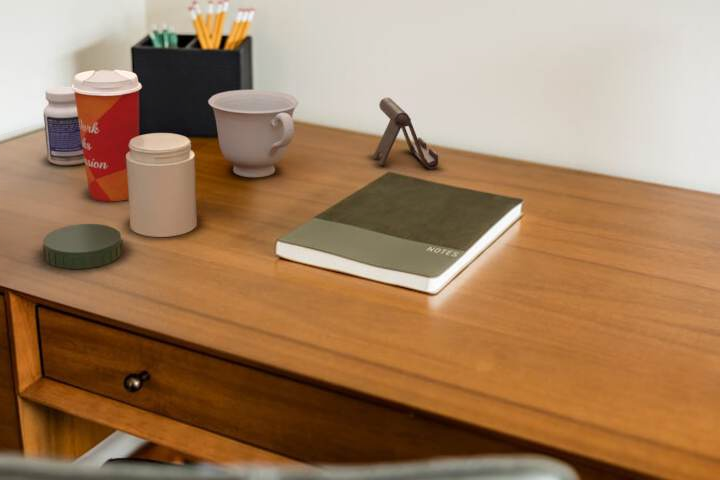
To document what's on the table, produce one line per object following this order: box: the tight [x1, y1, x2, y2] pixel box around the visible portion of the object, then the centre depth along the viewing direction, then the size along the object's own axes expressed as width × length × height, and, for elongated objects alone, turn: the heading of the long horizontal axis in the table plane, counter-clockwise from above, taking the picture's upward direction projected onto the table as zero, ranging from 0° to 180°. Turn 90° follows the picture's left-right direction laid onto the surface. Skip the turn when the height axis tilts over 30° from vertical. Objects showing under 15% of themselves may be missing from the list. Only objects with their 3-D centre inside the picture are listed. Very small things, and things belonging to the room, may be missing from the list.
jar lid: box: [42, 223, 124, 270], centre depth 96 cm, size 8×8×2 cm
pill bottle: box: [43, 86, 85, 166], centre depth 123 cm, size 6×6×10 cm
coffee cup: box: [70, 69, 143, 202], centre depth 111 cm, size 8×8×15 cm
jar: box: [126, 132, 198, 238], centre depth 103 cm, size 8×8×10 cm
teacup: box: [207, 89, 300, 178], centre depth 121 cm, size 12×15×10 cm
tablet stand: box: [373, 97, 439, 170], centre depth 129 cm, size 9×8×8 cm
